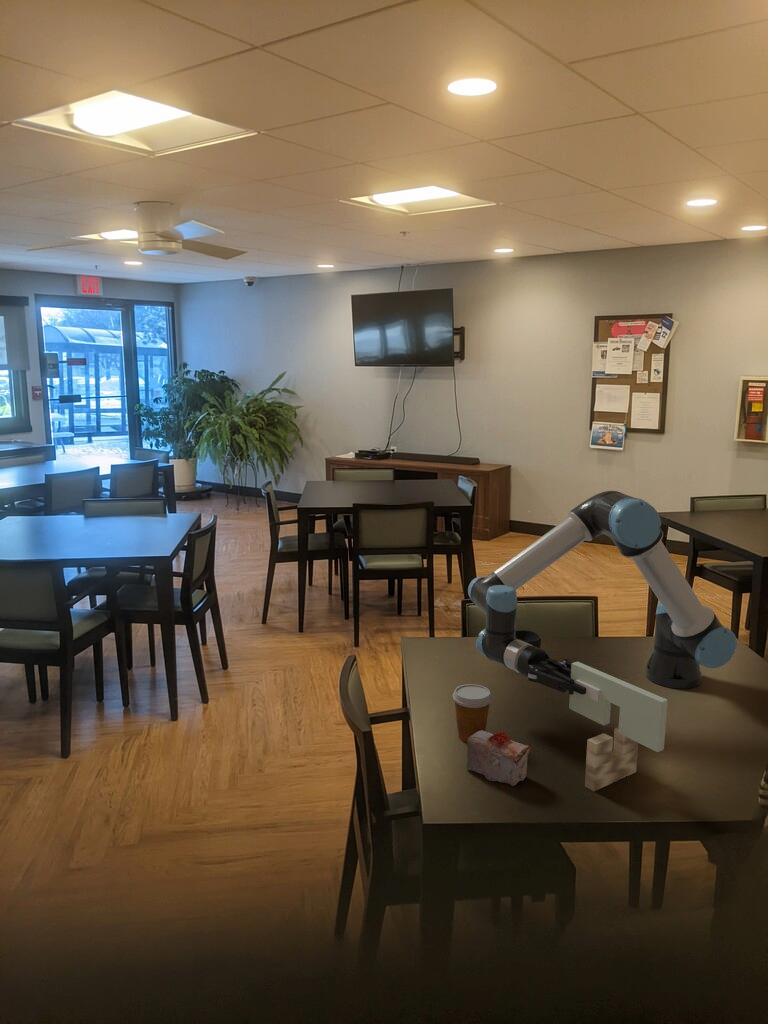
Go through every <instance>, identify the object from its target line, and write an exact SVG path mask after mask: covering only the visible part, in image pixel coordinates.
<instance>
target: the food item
mask: <svg viewBox="0 0 768 1024" xmlns="http://www.w3.org/2000/svg"><path fill="white" fill-rule="evenodd" d="M466 744H467V746H466V747H467V748H466V750H467V751H466V752H467V753H466V755H467V756H466V759H467V760H466V769H467V771H468V770H469V771H471V772H472V771H473V772H475V773H476V774H480V775H482V776H484V777H485V779H486V780H487V781H489V782H491V781H492V782H499V783H500V784H501V783H504V784H506V785H510V786H511V787H513V786H516V785H517V784H518V783H519V782H524V780H525V779H526V777H527V774H528V773H527V769H528V758H529V754H530V748H531V747H530V746H529V745H526V744H523V743H520V742H517V741H513V740H512V739H511V737H510V736H509V735H508V734H506V733H505V732H501V731H499V732H498V731H496V732H495V733H494V734H493V733H491V732H488V731H486V730H485V731H483V730H481V731H478V732H476V733H475V734H473V735H472V736H470V737H469V739H468V741H467V742H466Z"/></svg>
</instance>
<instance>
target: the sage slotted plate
mask: <svg viewBox="0 0 768 1024" xmlns="http://www.w3.org/2000/svg"><path fill="white" fill-rule="evenodd" d="M571 679H573V680H574V682H576V680H580V681H582V682H584V683H587V684H589V685H591V686H593V687H595V688H598V689H600V701H599V702H596V701H594V700H592V699H590V698H588V697H586V696H583V695H581V694H579V693H577V692H575V691H574V694H573V695H570V694H569V703H568V704H569V705H568V709H569V710H571V711H573V712H575V713H577V714H579V715H582V716H583V717H586V718H587V719H589V720H592V721H593V722H595V723H597V724H599V725H602V726H606V725H609V724H610V723H611V707H612V704H613V705H615V706H617V707H619V714H618V715H619V717H618V727H619V729H618V733H620V734H622V735H624V736H626V737H628V738H630V739H632V740H634V741H636V742H638V744H640V745H642V746H644V747H646V748H648V749H650V750H652V751H654V752H657V753H659V752H662V751H664V750H665V740H666V729H667V728H666V726H667V716H668V715H667V714H668V704H669V703H668V701H669V700H668V699H666V698H665V697H662V696H660V695H657V694H655V693H653V692H651V691H648V690H647V689H646V690H645V689H643V688H641V687H639V686H636V685H633V684H631V683H629V682H627V681H624V680H622V679H619V678H618V677H615V676H612V675H610V674H608V673H605V672H603V671H601V670H598V669H597V668H594V667H592V666H589V665H587V664H584V663H582V662H580V661H575V662H572V665H571Z"/></svg>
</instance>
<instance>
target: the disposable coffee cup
mask: <svg viewBox="0 0 768 1024" xmlns="http://www.w3.org/2000/svg"><path fill="white" fill-rule="evenodd" d="M452 699H453V701H454V707H455V714H456V715H455V718H456V727H457V734H458V739H459V740H460V741H462V742H464V743H467V741H468V739H469V737H470V736H472V735H473V734H475V733H476V732H478V731H481V730H483V731H485V732H486V727H487V722H488V715H489V711H490V703H491V701H492V699H493V696H492V694H491V691H490V689H489V688H488V687H486V686H483V685H481V684H476V683H475V684H473V683H470V684H469V683H468V684H467V683H466V684H462V685H458V686H457V687H455V689H454V692H453V693H452Z"/></svg>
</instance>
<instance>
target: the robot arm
mask: <svg viewBox="0 0 768 1024" xmlns="http://www.w3.org/2000/svg"><path fill="white" fill-rule="evenodd" d="M661 526H662V521H661V517H660V514H659V512H658V511H657V509H656V508H655V507H654V506H653V505H652V504H650V503H649V502H647V501H645V500H643V499H641V498H637V497H634V496H631V495H627V494H625V493H623V492H620V491H619V490H618V491H617V490H606V491H602V492H599V493H597V494H594V495H593V496H591V497H589V498H587V499H586V500H584V501H583V502H581V503H580V504H578V505H577V506H576V507H574V508H573V509H571V510H570V511H569V512H567V518H565V519H564V520H563V521H561V522H559V524H557V525H556V526H554V527H553V528H552V529H550V530H549V531H547V532H546V533H545V534H544V535H542V536H541V537H539V538H537V539H536V540H535V541H534V542H532V543H531V544H530V545H528V546H527V547H526V548H524V549H523V550H522V551H520V552H519V553H518V554H516V555H514V556H513V557H512V558H510V559H509V560H508V561H506V562H505V563H504V564H502V565H501V566H500V567H498V568H497V569H495V570H494V571H493V572H492V573H490V574H488V575H487V576H478V577H475V578H473V579H472V580H471V581H470V583H469V585H468V587H467V593H468V597H469V598H470V600H471V602H472V603H473V604H474V605H475V606H476V607H478V609H479V610H480V611H481V612H482V613H483V614H484V615H485V628H484V629H482V630H481V631H480V632H479V633H478V636H477V639H475V640H476V641H475V647H476V650H477V652H478V653H479V654H481V655H482V656H483V657H485V658H487V659H488V660H490V661H493V662H495V663H497V664H500V665H502V666H504V667H506V668H508V669H511V670H512V671H515V672H516V674H517V673H518V674H520V675H522V676H525V677H527V678H528V679H527V681H529V682H533V683H537V684H540V685H543V686H546V687H548V688H550V689H553V690H556V691H558V692H561V693H566V692H568V694H569V696H570V695H573V694H574V691H575V692H577V693H579V694H581V695H583V696H586V697H588V698H590V699H592V700H594V701H596V702H599V701H600V689H598V688H595V687H593V686H591V685H589V684H587V683H584V682H582V681H580V680H576V682H574V680H573V679H571V665H572V663H573V662H571V660H570V659H568V658H564V659H563V661H558V660H557V659H553V658H551V657H549V655H548V653H547V652H546V650H544V649H541V648H537V647H535V646H533V645H531V644H528V643H526V642H523V641H521V640H519V639H517V638H515V631H517V630H516V627H517V626H516V625H517V624H516V623H517V606H518V597H517V595H518V594H517V590H518V589H520V588H521V587H522V586H524V585H525V584H526V583H528V582H529V581H531V580H533V578H535V577H536V576H538V575H539V574H541V573H542V572H543V571H545V570H546V569H547V568H549V567H550V566H551V565H553V564H554V563H556V562H557V561H558V560H560V559H561V558H562V557H563V556H565V555H567V554H568V553H569V552H571V551H573V550H574V549H575V548H576V547H577V546H579V545H581V544H582V543H584V541H586V542H591V541H592V540H594V539H596V538H597V537H599V536H601V535H605V536H608V537H609V538H610V539H611V540H612V542H613V543H614V545H615V547H616V548H617V549H618V551H619V552H620V554H621V555H622V556H623V557H625V558H629V559H630V558H631V560H632V561H633V563H634V564H635V566H636V567H637V568H638V571H639V572H640V573H641V575H642V577H643V578H644V579H645V581H646V583H647V584H648V586H649V587H650V589H651V590H652V592H653V593H654V595H655V597H656V598H657V599H658V601H659V602H658V603H657V605H656V609H655V610H656V612H655V627H654V640H653V641H654V642H653V650H652V653H651V655H650V658H649V660H648V662H647V664H646V666H645V677H646V678H647V679H648V680H650V681H651V682H653V683H655V685H660V686H662V687H667V688H673V689H692V688H696V687H698V686H700V685H701V683H702V677H703V676H702V675H703V674H702V671H701V668H700V666H703V667H706V668H708V669H717V668H720V667H723V666H725V665H726V664H727V663H728V662H730V661H731V660H732V658H733V656H734V655H735V653H736V652H735V651H736V650H737V645H738V642H737V637H736V635H735V633H734V632H733V631H732V630H731V629H730V628H728V627H727V626H726V627H725V626H724V625H723V624H722V622H720V620H719V617H717V615H716V614H715V612H714V611H713V609H712V608H711V607H709V606H707V605H703V604H702V603H701V601H700V599H699V597H698V596H697V595H696V593H695V591H694V590H693V588H692V587H691V585H690V583H689V582H688V580H687V579H686V577H685V576H684V574H683V573H682V571H681V569H680V568H679V566H678V564H676V563H677V562H676V561H675V560H674V558H673V557H672V555H671V554H670V553H669V551H668V549H667V548H666V546H665V545H664V542H663V541H662V540H663V537H664V531H663V530H662V528H661Z"/></svg>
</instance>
